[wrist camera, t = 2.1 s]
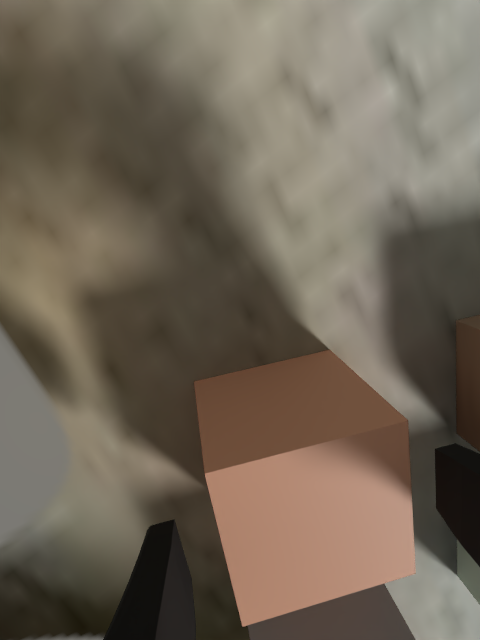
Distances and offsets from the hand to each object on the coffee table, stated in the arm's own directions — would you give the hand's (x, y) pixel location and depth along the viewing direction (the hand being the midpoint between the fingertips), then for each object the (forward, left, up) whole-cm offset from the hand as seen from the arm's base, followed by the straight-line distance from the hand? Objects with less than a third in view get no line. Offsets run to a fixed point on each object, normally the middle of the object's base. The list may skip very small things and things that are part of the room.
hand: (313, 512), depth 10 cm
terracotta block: (0, 0, -5) cm, 5 cm away
